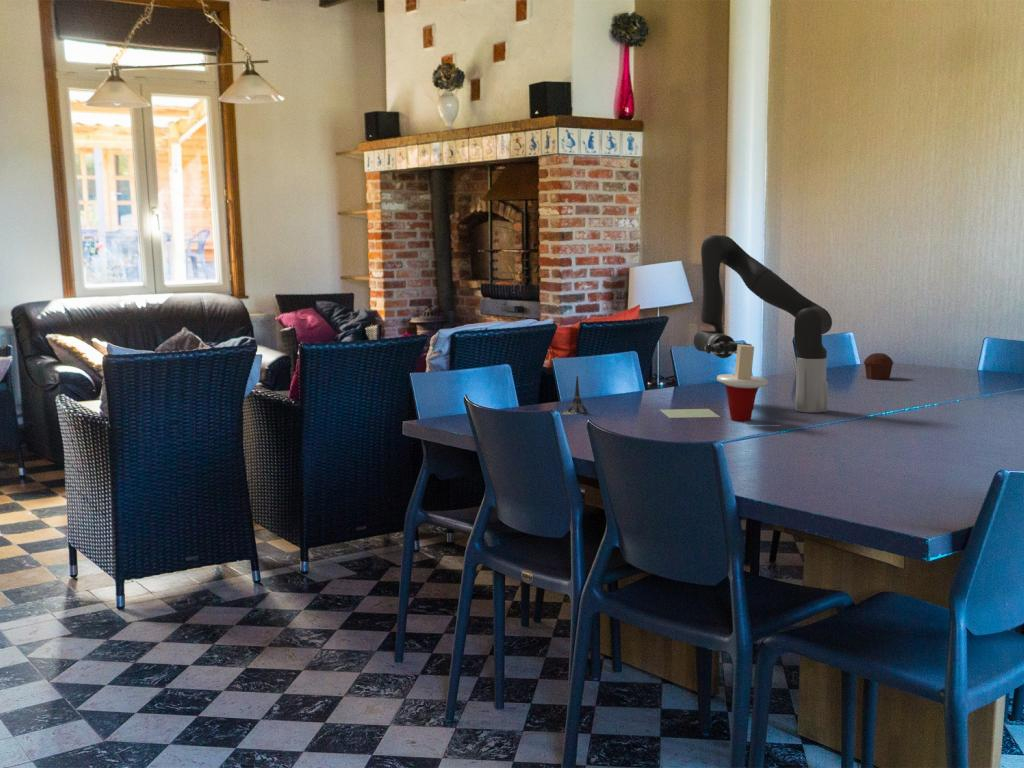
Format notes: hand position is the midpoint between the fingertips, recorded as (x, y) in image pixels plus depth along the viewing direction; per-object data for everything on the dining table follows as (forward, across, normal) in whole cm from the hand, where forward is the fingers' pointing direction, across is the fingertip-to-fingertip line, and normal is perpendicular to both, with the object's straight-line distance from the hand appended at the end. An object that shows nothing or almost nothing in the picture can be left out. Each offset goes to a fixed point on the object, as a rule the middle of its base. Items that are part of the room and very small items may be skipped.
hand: (733, 350), depth 321 cm
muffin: (-85, +80, +21) cm, 118 cm away
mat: (-3, -13, +21) cm, 25 cm away
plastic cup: (+11, 0, +21) cm, 24 cm away
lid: (+11, 0, +9) cm, 14 cm away
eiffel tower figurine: (-12, -48, +21) cm, 54 cm away
